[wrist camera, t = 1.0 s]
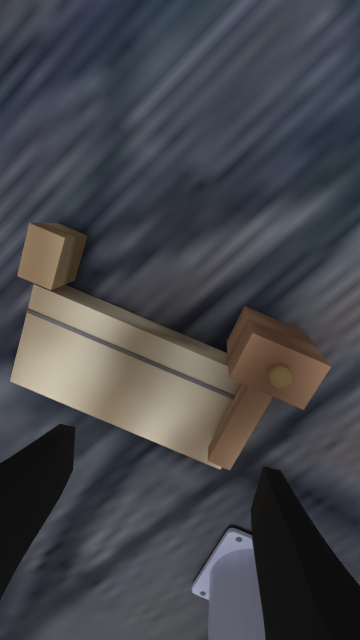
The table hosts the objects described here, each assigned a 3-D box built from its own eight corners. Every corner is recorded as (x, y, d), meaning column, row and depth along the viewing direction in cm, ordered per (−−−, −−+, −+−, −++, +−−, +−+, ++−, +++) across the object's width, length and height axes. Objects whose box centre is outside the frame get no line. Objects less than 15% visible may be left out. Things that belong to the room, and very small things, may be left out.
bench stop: (87, 235, 19) (64, 238, 16) (74, 280, 20) (50, 290, 17) (57, 222, 19) (29, 222, 16) (45, 268, 20) (17, 275, 17)
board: (264, 368, 20) (269, 384, 18) (220, 448, 22) (220, 470, 21) (51, 278, 20) (32, 284, 18) (27, 367, 22) (9, 382, 20)
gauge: (303, 331, 19) (335, 372, 14) (244, 432, 22) (252, 499, 17) (244, 305, 19) (254, 337, 14) (192, 410, 22) (184, 470, 17)
